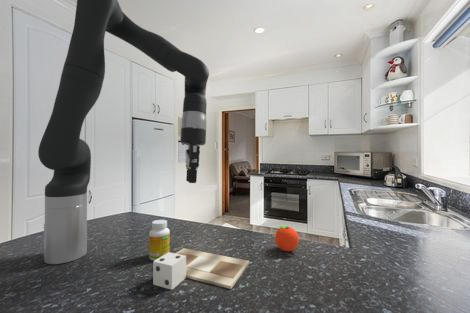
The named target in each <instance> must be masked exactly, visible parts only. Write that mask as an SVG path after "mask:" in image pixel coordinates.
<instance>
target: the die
mask: <svg viewBox="0 0 470 313" xmlns="http://www.w3.org/2000/svg"><path fill="white" fill-rule="evenodd" d="M175 253H176V252H171V251H170V252H168V253H166V254H165V255H163V256H161V257H160V258H158V259H156V260H155V261H154V260H152V261H153V264H152V265H153V266H152V267H153V268H152V270H153V272H152V278H153V279H152V281H153V282H152V285H153V286H157V287H161V288H164V289H168V290H174V289H175V288H176V287H177V286H178V285H179V284H181V283H182V282H183V281H184V280H185V279H186V256H185V255H180V254H175Z"/></svg>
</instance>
